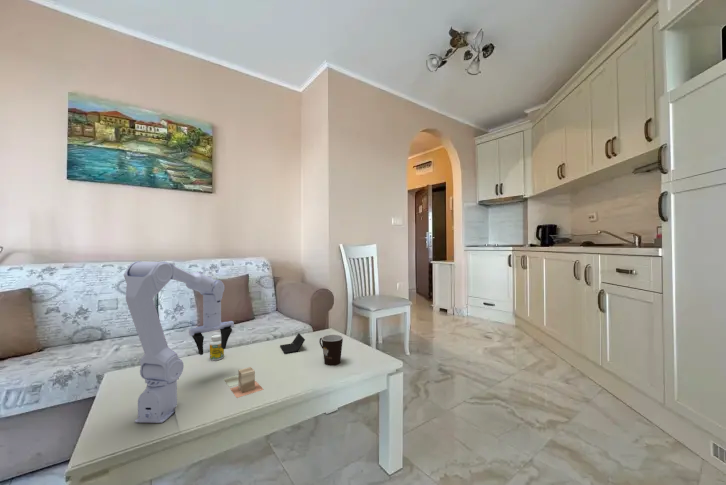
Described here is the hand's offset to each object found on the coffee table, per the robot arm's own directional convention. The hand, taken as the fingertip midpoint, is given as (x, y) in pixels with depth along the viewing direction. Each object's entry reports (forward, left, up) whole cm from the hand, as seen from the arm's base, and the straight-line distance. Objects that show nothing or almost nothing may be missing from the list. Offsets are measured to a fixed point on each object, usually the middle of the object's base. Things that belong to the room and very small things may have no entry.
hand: (212, 351), depth 107 cm
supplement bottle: (+20, +9, -11) cm, 24 cm away
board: (-5, -13, -10) cm, 17 cm away
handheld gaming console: (+32, -20, -11) cm, 39 cm away
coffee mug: (+18, -40, -11) cm, 45 cm away
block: (-8, -16, -9) cm, 20 cm away
